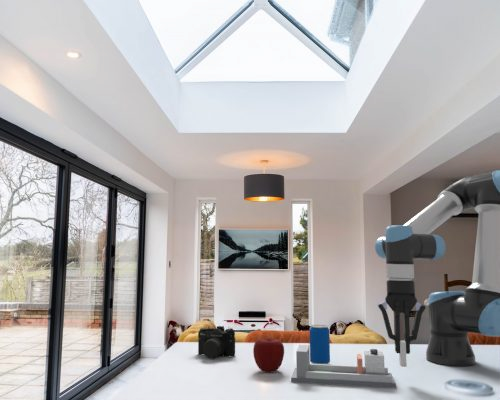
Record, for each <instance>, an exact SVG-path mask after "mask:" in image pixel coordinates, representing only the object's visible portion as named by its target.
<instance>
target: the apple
mask: <svg viewBox="0 0 500 400" xmlns="http://www.w3.org/2000/svg"><path fill="white" fill-rule="evenodd" d="M252 351H253V358H254V362H255V364H256V366H257V367H258V369H259V370H260V371H261V372H263V373H275V372H276V371H278V369H280V367H281V365H282V364H283V361H284V357H285V346H284V344H283V342H282V341H281V340H280V339H277V338H273V337H259V338H258V339H257V340H255V342H254V344H253V349H252Z"/></svg>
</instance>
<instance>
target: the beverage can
mask: <svg viewBox="0 0 500 400" xmlns="http://www.w3.org/2000/svg"><path fill="white" fill-rule="evenodd" d="M330 347H331V346H330V329H329V326H328V325H326V324H312V325H310V329H309V356H310V363H311V364H328V365H329V363H330V362H331V351H330V350H331V349H330Z"/></svg>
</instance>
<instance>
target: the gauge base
mask: <svg viewBox="0 0 500 400" xmlns="http://www.w3.org/2000/svg"><path fill="white" fill-rule="evenodd" d="M295 355H296V367H295V368H294V369H293V372H292V374H291V377H290V382H291V383H300V384H301V383H303V384H321V385H334V386H352V387H353V386H354V387H368V388H369V387H371V388H373V387H374V388H385V389H386V388H387V389H389V388H391V389H397V383H396V381H395V378H394V377H393V373H392V372H389V368H388V367H386V366H385V375H373V374H365V365H362V366H363V374H358V372H357V365H345V364H343V365H342V364H329V363H328V364H312V363H311V362H310V344H309V345H308V344H299V345H298V347H297V349H296V353H295Z"/></svg>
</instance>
